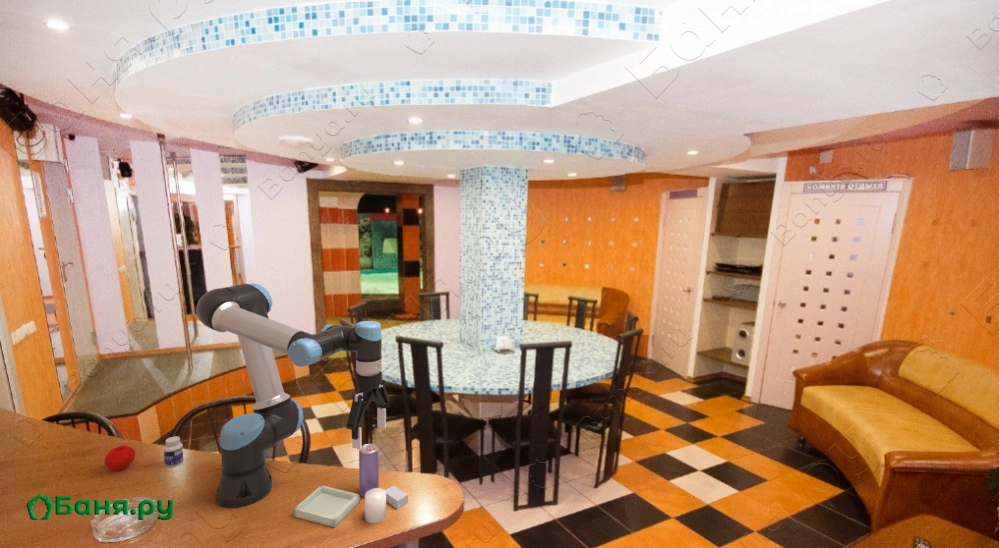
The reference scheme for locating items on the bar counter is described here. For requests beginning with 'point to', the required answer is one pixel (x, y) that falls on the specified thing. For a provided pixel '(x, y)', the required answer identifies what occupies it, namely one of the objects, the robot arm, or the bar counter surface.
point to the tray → (327, 506)
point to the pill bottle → (173, 452)
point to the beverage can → (368, 468)
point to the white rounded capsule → (375, 505)
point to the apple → (120, 458)
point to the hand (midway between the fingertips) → (369, 437)
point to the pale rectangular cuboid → (396, 497)
